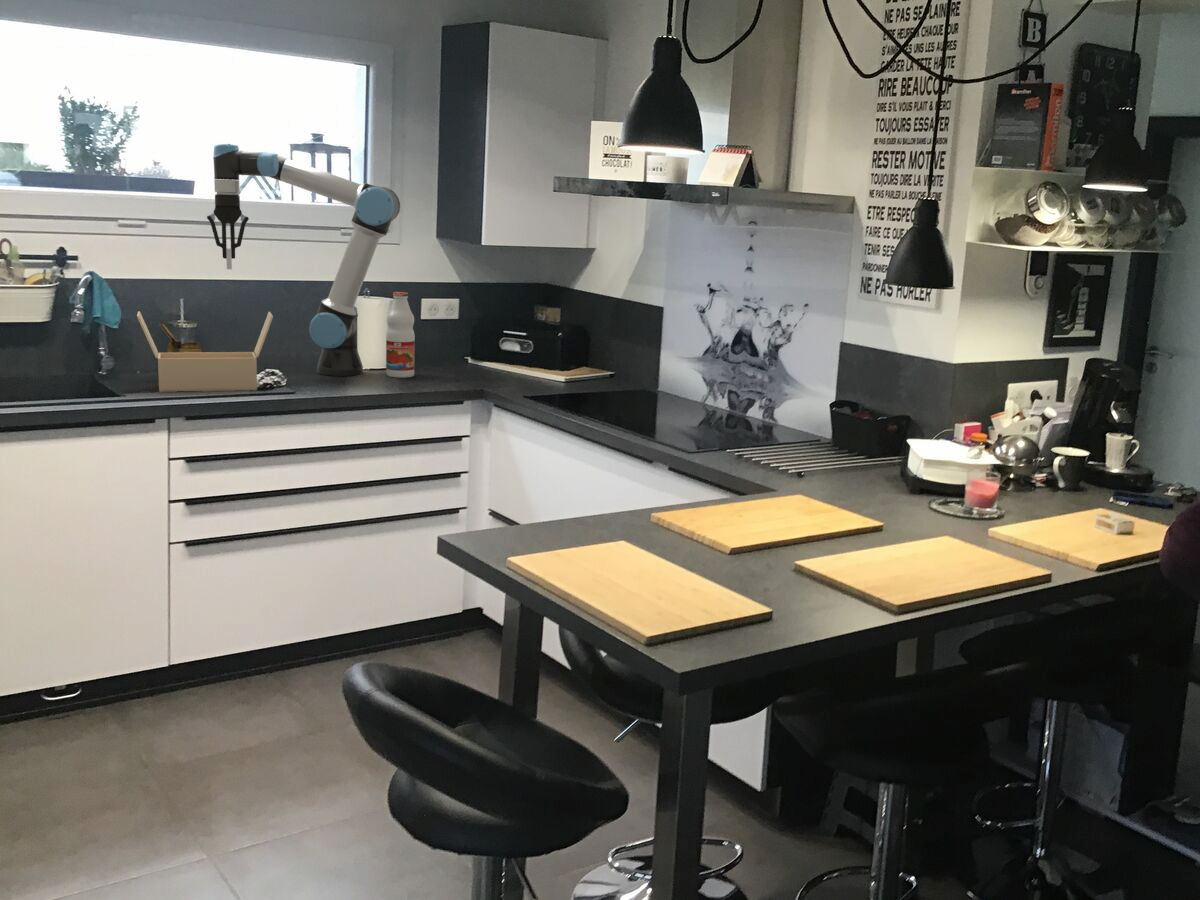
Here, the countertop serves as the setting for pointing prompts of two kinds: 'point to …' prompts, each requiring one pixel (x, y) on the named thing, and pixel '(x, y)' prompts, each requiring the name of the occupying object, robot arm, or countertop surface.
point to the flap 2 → (263, 334)
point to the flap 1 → (147, 334)
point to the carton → (207, 371)
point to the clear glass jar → (177, 344)
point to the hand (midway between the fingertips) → (229, 268)
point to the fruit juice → (400, 338)
